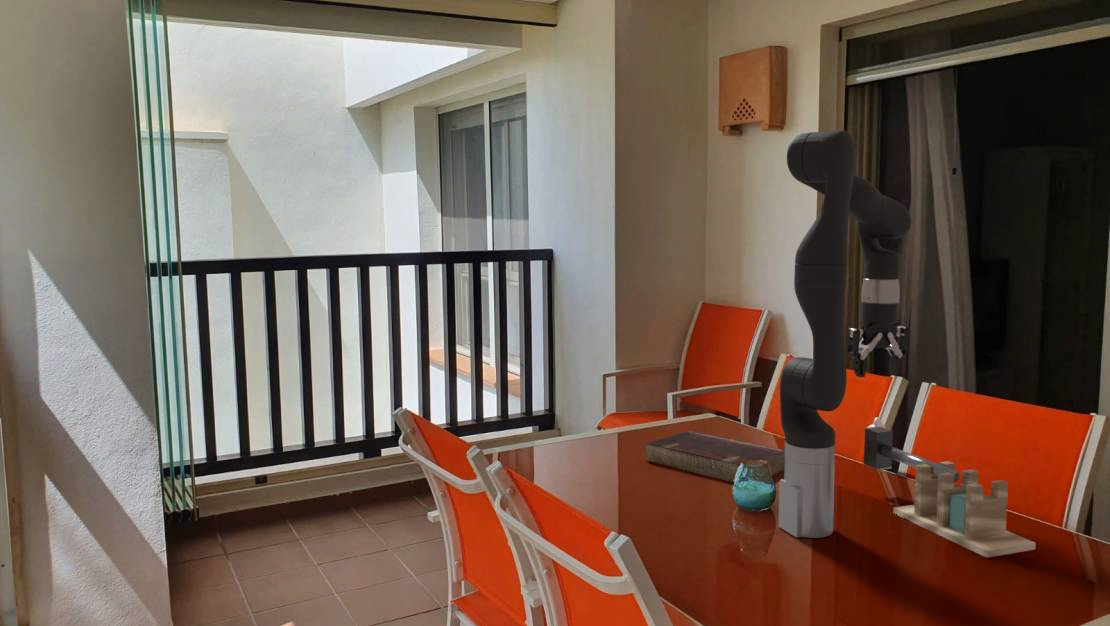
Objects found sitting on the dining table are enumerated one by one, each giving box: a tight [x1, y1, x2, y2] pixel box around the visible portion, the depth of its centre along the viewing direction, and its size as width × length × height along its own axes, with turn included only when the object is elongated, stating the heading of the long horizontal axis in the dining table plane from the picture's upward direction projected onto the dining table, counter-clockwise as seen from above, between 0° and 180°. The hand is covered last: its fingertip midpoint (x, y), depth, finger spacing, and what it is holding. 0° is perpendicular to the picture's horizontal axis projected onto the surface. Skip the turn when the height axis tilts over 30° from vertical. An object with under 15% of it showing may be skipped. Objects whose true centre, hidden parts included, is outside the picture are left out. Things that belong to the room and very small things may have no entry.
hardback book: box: [645, 430, 785, 483], centre depth 208 cm, size 29×19×5 cm, turn 45°
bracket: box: [892, 460, 1036, 558], centre depth 162 cm, size 24×11×11 cm, turn 18°
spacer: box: [949, 493, 986, 533], centre depth 160 cm, size 4×6×6 cm, turn 108°
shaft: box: [863, 427, 961, 484], centre depth 175 cm, size 24×4×8 cm, turn 18°
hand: (877, 375), depth 182 cm, fingers open, 8 cm apart
